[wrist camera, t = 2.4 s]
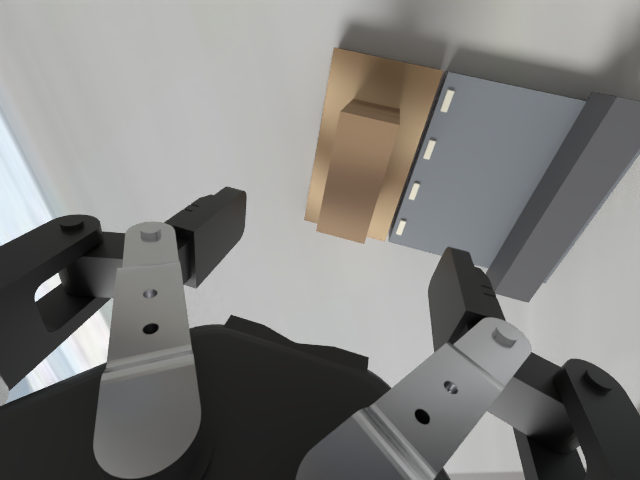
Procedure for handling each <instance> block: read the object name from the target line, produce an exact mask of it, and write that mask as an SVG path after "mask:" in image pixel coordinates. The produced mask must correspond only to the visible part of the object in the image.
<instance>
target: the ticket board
mask: <svg viewBox="0 0 640 480" xmlns="http://www.w3.org/2000/svg"><path fill="white" fill-rule="evenodd" d="M639 154H640V101H635V100H631V99H626V98H621V97H616V96H611V95H606V94H601V93H595V92H592V93H591V95H590V97H589V98H588V100H587V101H584V100H579V99H574V98H570V97H565V96H560V95H556V94H551V93H546V92H542V91H537V90H532V89H527V88H523V87H518V86H513V85H509V84H504V83H499V82H495V81H490V80H485V79H481V78H476V77H471V76H467V75H462V74H457V73H452V72H448V71H446V72H445V75H444V78H443V81H442V83H441V86H440V89H439V92H438V95H437V98H436V101H435V104H434V107H433V109H432V112H431V115H430V118H429V121H428V124H427V127H426V130H425V132H424V135H423V138H422V141H421V144H420V147H419V150H418V153H417V156H416V158H415V161H414V164H413V167H412V170H411V173H410V176H409V179H408V181H407V184H406V187H405V190H404V193H403V196H402V199H401V202H400V205H399V207H398V210H397V213H396V216H395V219H394V222H393V225H392V228H391V230H390V233H389V242H392V243H395V244H399V245H403V246H407V247H410V248H414V249H418V250H422V251H425V252H429V253H433V254H437V255H441V256H442V255H443V253H444V251H445V249H446V248H447V247H453V248H456V249H460V250H464V251H467V252H469V253H470V255H471V258H472V261H473V264H474V265H478V266H482V267H486V268H489V269H488V271H487V272H486V275H487V277H488V278H489V279H490V282H491V284H492V287H493V289H492V290H494V292H495V294H499V295H502V296H506V297H510V298H513V299H517V300H521V301H524V302H529V301H530V300H531V298H532V297H533V295H534V294H535V293H536V291H537V290H538V289H539V287H540V286H541V284H542V283H546V282H547V280H548V279H549V277H550V276H551V275H552V273H553V272H554V271H555V269H556V268H557V267H558V265H559V264H560V262H561V261H562V260H563V258H564V257H565V256H566V254H567V253H568V251H569V250H570V249H571V247H572V246H573V245H574V243H575V242H576V241H577V239H578V238H579V236H580V235H581V234H582V232H583V231H584V230H585V228H586V227H587V225H588V224H589V223H590V221H591V220H592V219H593V217H594V216H595V214H596V213H597V212H598V210H599V209H600V208H601V206H602V205H603V204H604V202H605V201H606V199H607V198H608V197H609V195H610V194H611V193H612V191H613V190H614V188H615V187H616V186H617V184H618V183H619V182H620V180H621V179H622V177H623V176H624V175H625V173H626V172H627V171H628V169H629V168H630V167H631V165H632V164H633V162H634V161H635V160H636V158H637V157H638V156H639Z"/></svg>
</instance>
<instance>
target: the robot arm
mask: <svg viewBox="0 0 640 480" xmlns="http://www.w3.org/2000/svg"><path fill="white" fill-rule="evenodd" d="M245 215H246V192H245V191H242V190H238V189H234V188H231V187H225V188H223V189H222V190H221V191H219V192H218V193H216V194H215V195H208V196H205V197H202V198H199V199H197V200H196V201H195V202H193V203H192V204H191V205H189V206H187V207H186V208H185V209H184V210H182V211H180V212H179V213H177V214H176V215H174V216H173V217H171V218H170V219H169V220H167V221H166V222H164V223H162V222H144V223H140V224H137V225H134V226H132V227H131V228H129V229H128V230H127V231H126V233H114V232H102V229H101V225H100V221H99V220H98V219H97V218H95V217H93V216H89V215H68V216H63V217H59V218H56V219H53V220H51V221H49V222H47V223H45V224H43V225H41V226H39V227H37V228H35V229H33V230H31V231H29V232H28V233H26V234H24V235H22V236H20V237H18V238H16V239H14V240H12V241H10V242H8V243H6V244H4V245H2V246H0V480H450V478H449V476H448V475H447V473H446V472H445V470H444V468H443V466H444V465H445V464H446V463H447V461H448V460H449V459H450V457H451V456H452V455H453V454H454V452H455V451H456V450H457V448H458V447H459V446H460V445H461V443H462V442H463V441H464V439H465V438H466V437H467V436H468V434H469V433H470V432H471V430H472V429H473V428H474V427H475V425H476V424H477V423H478V421H479V420H480V419H481V417H482V416H483V415H484V414H485V412H486V411H488V412H490V413H491V414H493V415H495V416H496V417H498V418H499V419H501V420H503V421H504V422H506V423H508V424H509V425H511V426H513V430H514V434H515V438H516V442H517V446H518V451H519V455H520V459H521V463H522V467H523V472H524V476H525V480H640V415H639V413H638V412H637V410H636V408H635V407H634V405H633V403H632V402H631V400H630V398H629V397H628V395H627V393H626V392H625V390H624V389H623V388H622V386H621V385H620V384H619V383H618V382H617V381H616V380H615V379H614V378H613V377H612V376H610V375H609V374H608V373H607V372H605V371H604V370H602V369H601V368H599V367H597V366H596V365H594V364H592V363H589V362H587V361H584V360H580V359H570V360H568V361H567V362H566V363H565V364H564V365H563V366H562V367H559V366H557V365H555V364H553V363H551V362H550V361H548V360H546V359H544V358H542V357H540V356H538V355H536V354H534V353H532V352H531V351H532V347H531V344H530V342H529V340H528V339H527V337H526V336H525V335H524V334H523V333H522V332H521V331H520V330H519V329H517V328H516V327H515V326H513V325H512V324H510V323H508V322H506V320H505V318H504V315H503V313H502V310H501V307H500V305H499V302H498V300H497V298H496V295H495V292H494V290H492V289H493V287H492V284H491V282H490V279H489V278H488V277H487V275H486V274H485V273H484V272H483V271H482V270H481V269H480V268H477V267H474V264H473V261H472V258H471V255H470V253H469V252H467V251H464V250H460V249H456V248H453V247H447V248H446V249H445V251H444V253H443V255H442V257H441V259H440V261H439V263H438V266H437V268H436V270H435V272H434V274H433V276H432V278H431V281H430V284H429V289H428V298H429V307H430V317H431V326H432V335H433V345H434V353H433V354H432V355H431V356H430V357H429V358H427V359H426V360H425V361H424V362H423V363H421V364H420V365H419V366H418V367H417V368H415V369H414V370H413V371H412V372H411V373H409V374H408V375H407V376H406V377H405V378H403V379H402V380H401V381H400V382H399V383H397V384H396V385H395V386H394V387H393V388H391V387H390V386H389V385H388V384H387V383H386V382H384V381H383V380H382V379H381V378H380V377H378V376H377V375H376V374H374V373H373V372H371V371H369V370H368V369H367V368H368V359H369V357H365V356H362V355H359V354H356V353H352V352H349V351H346V350H343V349H340V348H336V347H332V346H321V345H310V344H299V343H295V342H293V341H291V340H289V339H287V338H286V337H284V336H282V335H280V334H279V333H277V332H275V331H273V330H272V329H270V328H268V327H266V326H265V325H262V324H259V323H256V322H253V321H249V320H246V319H243V318H240V317H236V316H233V315H231V316H230V317H229V319H228V320H227V322H226V323H225V325H221V324H215V325H203V326H198V327H194V328H190V329H189V324H188V316H187V309H186V301H185V294H184V287H183V285H187V286H190V287H193V288H197V287H198V286H199V285H200V284H201V283H202V282H203V280H204V279H205V278H206V277H207V276H208V275H209V274H210V273H211V272H212V270H213V269H214V268H215V267H216V266H217V265H218V264H219V263H220V261H221V260H222V259H223V258H224V257H225V256H226V255H227V254H228V252H229V251H230V250H231V249H232V248H233V247H234V246H235V245H236V244H237V242H238V241H239V240H240V239H241V237H242V235H243V232H244V228H245ZM56 273H59V276H60V279H61V282H62V283H61V284H60V285H58V286H57V287H56V288H54V289H53V290H52V291H50V292H49V293H47V294H46V295H45V296H43V297H42V298H40V299H39V300H38V301H36V302H35V300H34V296H35V292H36V290H37V289H38V287H39V286H40V285H41V284H42V283H43V282H45V281H46V280H48V279H49V278H51V277H52V276H54V275H55V274H56ZM111 298H114V300H113V310H112V319H111V329H110V338H109V348H108V357H107V362H106V363H104V364H101V365H99V366H96V367H94V368H92V369H89V370H87V371H84V372H82V373H79V374H77V375H75V376H72V377H70V378H67V379H65V380H62V381H60V382H58V383H55V384H53V385H50V386H48V387H46V388H43V389H41V390H38V391H36V392H33V393H31V394H29V395H26V396H24V397H21V398H19V399H17V400H14V401H12V402H9V403H7V404H5V402H6V400H7V398H8V394H9V391H10V390H11V389H12V388H13V387H14V386H15V385H16V384H17V383H19V382H20V381H21V380H22V379H23V378H24V377H25V376H26V375H27V374H28V373H29V372H31V371H32V370H33V369H34V368H35V367H36V366H37V365H38V364H39V363H40V362H42V361H43V360H44V359H45V358H46V357H47V356H48V355H49V354H50V353H51V352H53V351H54V350H55V349H56V348H57V347H58V346H59V345H60V344H61V343H62V342H64V341H65V340H66V339H67V338H68V337H69V336H70V335H71V334H72V333H73V332H74V331H76V330H77V329H78V328H79V327H80V326H81V325H82V324H83V323H84V322H85V321H87V320H88V319H89V318H90V317H91V316H92V315H93V314H94V313H95V312H96V311H98V310H99V309H100V308H101V307H102V306H103V305H104V304H105V303H106V302H107V301H109V300H110V299H111ZM578 446H581V449H582V451H583V454H584V456H585V459H586V464H587V472H585V469H584V467H583V464H582V462H581V459H580V457H579V454H578V451H577V449H576V448H577V447H578Z"/></svg>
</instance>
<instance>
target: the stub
mask: <svg viewBox="0 0 640 480" xmlns="http://www.w3.org/2000/svg"><path fill="white" fill-rule="evenodd" d="M442 74H443V71H442V70H438V69H434V68H429V67H424V66H419V65H415V64H410V63H405V62H401V61H396V60H391V59H387V58H382V57H377V56H373V55H368V54H363V53H359V52H354V51H349V50H344V49H340V48H334V51H333V57H332V62H331V68H330V74H329V80H328V86H327V91H326V97H325V103H324V109H323V115H322V120H321V126H320V132H319V138H318V144H317V149H316V155H315V161H314V167H313V172H312V178H311V184H310V190H309V196H308V201H307V207H306V213H305V219H304V220H306V221H310V222H314V223H318V225H317V230H316V231H318V232H322V233H325V234H329V235H333V236H337V237H340V238H344V239H348V240H351V241H355V242H359V243H363V244H364V242H365V239H366V236H367V237H370V238H374V239H378V240H382V241H385V240H386V237H387V234H388V231H389V228H390V225H391V222H392V219H393V216H394V213H395V211H396V208H397V205H398V202H399V199H400V196H401V193H402V190H403V187H404V184H405V181H406V179H407V176H408V173H409V170H410V167H411V164H412V161H413V158H414V155H415V152H416V149H417V146H418V144H419V141H420V138H421V135H422V132H423V129H424V126H425V123H426V120H427V117H428V114H429V112H430V109H431V106H432V103H433V100H434V97H435V94H436V91H437V88H438V85H439V82H440V80H441V77H442Z"/></svg>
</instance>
